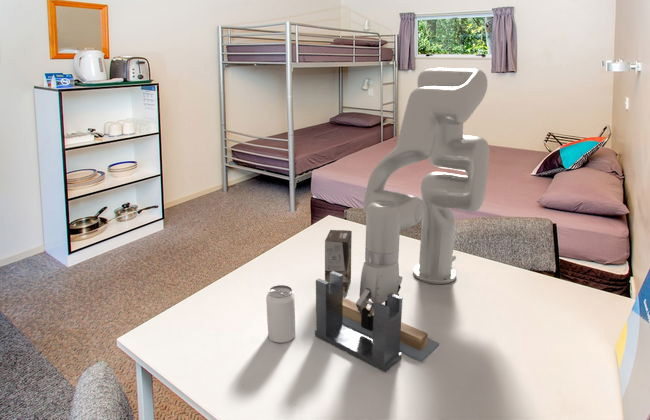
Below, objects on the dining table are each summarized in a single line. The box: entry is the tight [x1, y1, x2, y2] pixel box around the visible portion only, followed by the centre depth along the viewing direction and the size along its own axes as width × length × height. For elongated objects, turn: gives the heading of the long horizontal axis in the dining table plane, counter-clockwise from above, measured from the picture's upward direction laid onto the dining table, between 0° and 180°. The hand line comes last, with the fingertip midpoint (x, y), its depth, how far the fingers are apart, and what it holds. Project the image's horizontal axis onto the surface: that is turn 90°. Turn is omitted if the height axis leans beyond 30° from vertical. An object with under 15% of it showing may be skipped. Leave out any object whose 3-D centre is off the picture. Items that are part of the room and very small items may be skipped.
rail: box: [343, 297, 429, 350], centre depth 108 cm, size 3×24×3 cm, turn 49°
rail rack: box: [314, 271, 403, 374], centre depth 100 cm, size 6×20×15 cm, turn 48°
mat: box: [342, 316, 441, 363], centre depth 109 cm, size 8×28×1 cm, turn 48°
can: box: [265, 284, 297, 344], centre depth 105 cm, size 6×6×12 cm
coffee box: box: [324, 229, 353, 297], centre depth 127 cm, size 9×6×16 cm
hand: (379, 319), depth 108 cm, fingers open, 9 cm apart
